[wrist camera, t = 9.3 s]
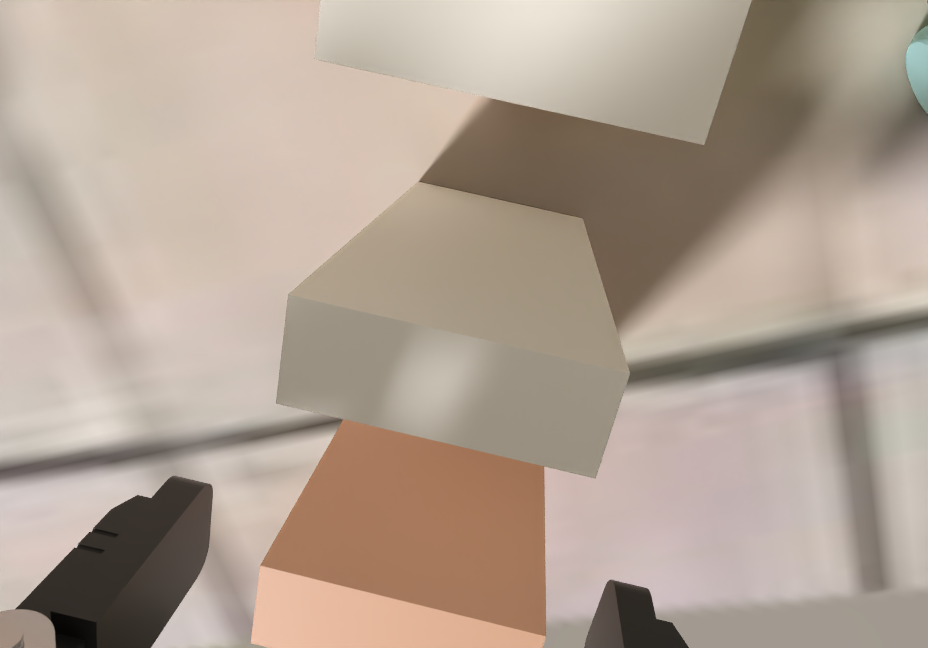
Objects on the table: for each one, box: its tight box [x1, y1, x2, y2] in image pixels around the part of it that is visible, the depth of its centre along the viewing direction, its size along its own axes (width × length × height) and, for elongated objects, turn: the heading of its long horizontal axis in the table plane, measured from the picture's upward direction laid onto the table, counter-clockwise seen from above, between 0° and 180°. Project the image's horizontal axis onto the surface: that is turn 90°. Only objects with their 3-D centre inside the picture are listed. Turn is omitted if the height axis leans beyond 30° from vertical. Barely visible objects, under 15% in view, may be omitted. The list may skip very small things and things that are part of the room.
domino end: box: [251, 419, 546, 648], centre depth 17 cm, size 2×5×11 cm, turn 78°
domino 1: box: [314, 0, 752, 145], centre depth 13 cm, size 2×5×11 cm, turn 78°
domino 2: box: [276, 182, 630, 478], centre depth 15 cm, size 2×5×11 cm, turn 79°
